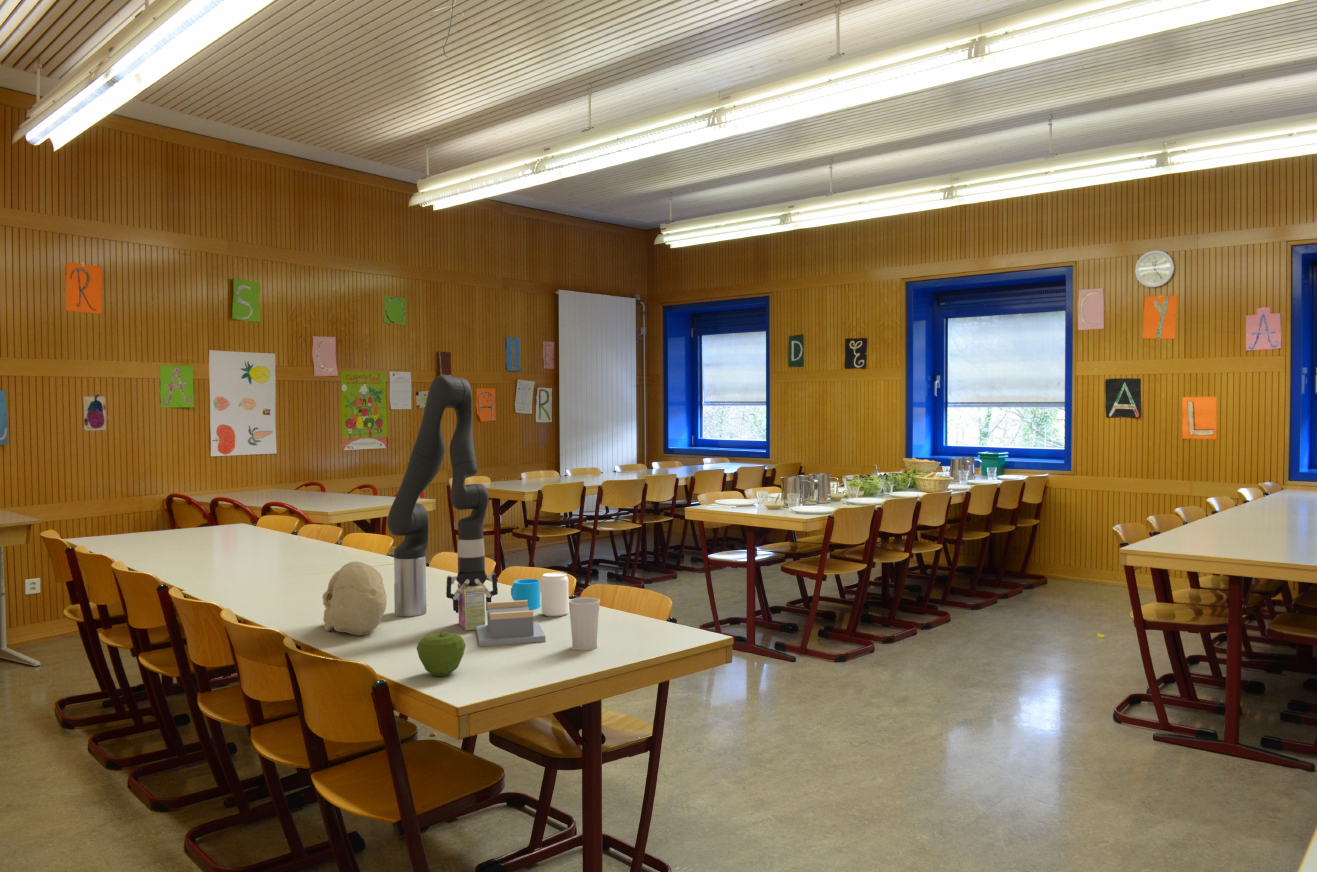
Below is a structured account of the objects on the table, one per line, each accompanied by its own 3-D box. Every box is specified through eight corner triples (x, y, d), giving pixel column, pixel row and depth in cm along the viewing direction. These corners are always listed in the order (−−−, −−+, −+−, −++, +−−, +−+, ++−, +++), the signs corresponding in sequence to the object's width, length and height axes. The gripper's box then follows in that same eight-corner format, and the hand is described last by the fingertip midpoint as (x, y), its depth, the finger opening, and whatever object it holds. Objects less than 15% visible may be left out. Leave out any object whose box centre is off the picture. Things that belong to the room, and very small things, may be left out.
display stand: (479, 646, 229) (479, 615, 228) (476, 631, 245) (475, 602, 245) (545, 641, 233) (545, 611, 233) (537, 626, 249) (537, 598, 249)
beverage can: (574, 613, 265) (573, 574, 265) (553, 618, 259) (553, 577, 259) (556, 609, 271) (556, 571, 270) (536, 614, 265) (535, 574, 265)
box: (458, 623, 255) (457, 582, 254) (477, 621, 257) (477, 580, 257) (465, 631, 245) (464, 588, 245) (485, 629, 247) (484, 587, 247)
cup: (588, 652, 221) (587, 605, 221) (562, 648, 226) (562, 601, 225) (606, 645, 228) (605, 599, 228) (581, 641, 232) (581, 596, 232)
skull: (355, 617, 262) (356, 550, 260) (398, 636, 243) (398, 564, 242) (306, 625, 251) (306, 556, 250) (346, 646, 233) (347, 571, 232)
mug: (545, 607, 275) (545, 581, 275) (524, 611, 269) (524, 584, 269) (522, 601, 284) (521, 576, 283) (501, 605, 278) (500, 580, 278)
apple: (469, 667, 210) (468, 625, 209) (460, 680, 199) (460, 636, 199) (423, 668, 209) (422, 626, 209) (412, 681, 199) (411, 637, 199)
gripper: (445, 557, 245) (447, 615, 245) (497, 554, 249) (499, 612, 249) (445, 554, 252) (446, 610, 253) (495, 551, 256) (496, 606, 256)
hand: (472, 611), depth 251 cm, fingers open, 8 cm apart
